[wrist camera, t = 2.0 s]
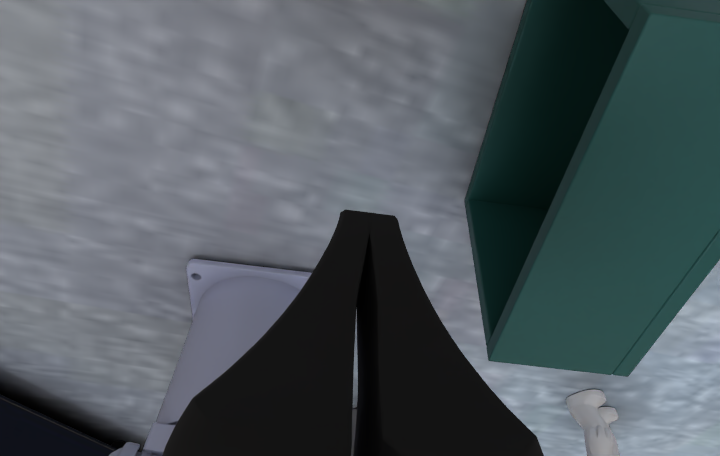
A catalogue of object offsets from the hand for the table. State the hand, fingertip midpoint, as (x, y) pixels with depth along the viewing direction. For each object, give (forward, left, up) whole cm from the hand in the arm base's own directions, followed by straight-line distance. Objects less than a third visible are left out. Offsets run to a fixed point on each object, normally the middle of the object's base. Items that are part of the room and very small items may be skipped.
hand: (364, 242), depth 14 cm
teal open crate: (0, -7, -10) cm, 13 cm away
